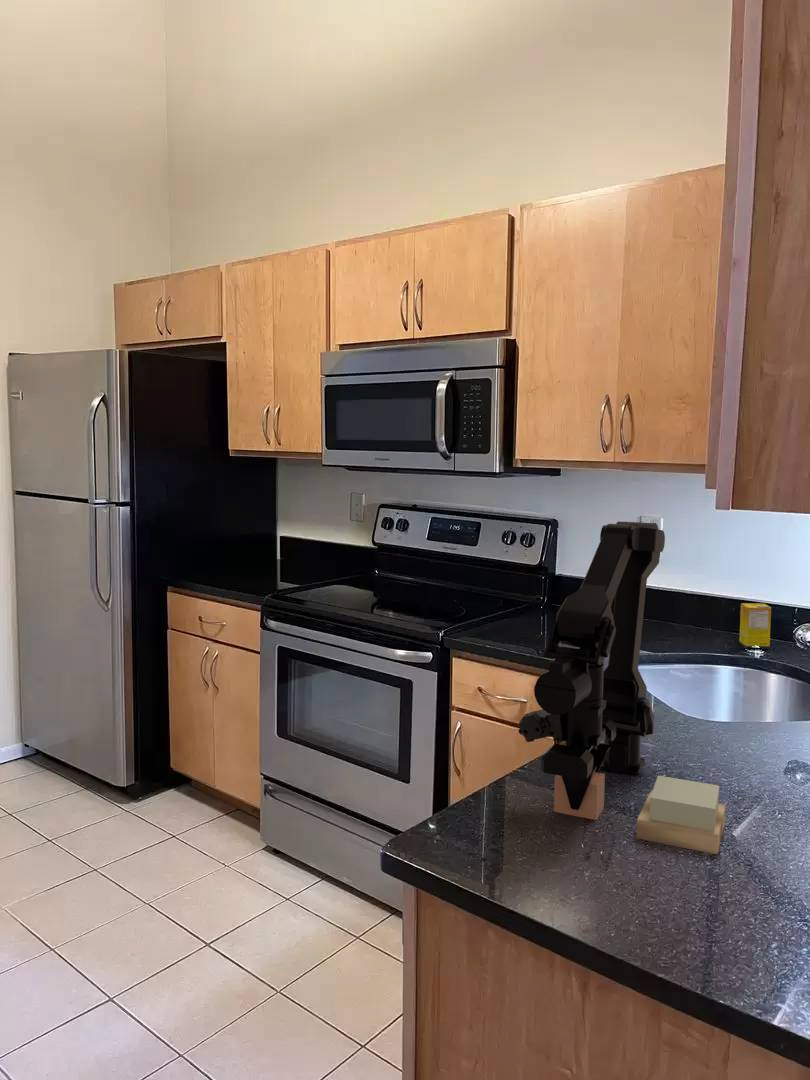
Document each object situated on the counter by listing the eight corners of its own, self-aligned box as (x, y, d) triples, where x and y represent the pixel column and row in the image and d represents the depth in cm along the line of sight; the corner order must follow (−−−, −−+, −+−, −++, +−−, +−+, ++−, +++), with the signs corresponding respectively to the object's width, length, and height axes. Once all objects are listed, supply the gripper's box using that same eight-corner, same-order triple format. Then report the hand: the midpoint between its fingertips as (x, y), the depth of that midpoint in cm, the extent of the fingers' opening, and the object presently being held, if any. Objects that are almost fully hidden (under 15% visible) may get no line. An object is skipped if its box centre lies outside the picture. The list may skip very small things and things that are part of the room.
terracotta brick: (562, 799, 120) (563, 766, 119) (603, 807, 117) (604, 773, 116) (553, 811, 115) (554, 777, 115) (596, 820, 113) (597, 785, 112)
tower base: (649, 811, 117) (650, 791, 116) (724, 825, 112) (725, 804, 112) (636, 841, 108) (637, 819, 107) (717, 858, 103) (718, 835, 103)
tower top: (657, 796, 115) (658, 775, 114) (718, 806, 111) (719, 785, 111) (649, 819, 107) (650, 797, 107) (714, 831, 104) (715, 809, 104)
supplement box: (762, 644, 214) (764, 602, 213) (769, 649, 208) (771, 607, 207) (738, 643, 215) (740, 602, 214) (745, 649, 209) (747, 606, 208)
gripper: (545, 672, 126) (543, 769, 128) (504, 706, 110) (503, 817, 111) (618, 681, 121) (615, 782, 123) (587, 718, 105) (584, 834, 106)
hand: (579, 802), depth 116 cm, fingers closed on terracotta brick, 4 cm apart
